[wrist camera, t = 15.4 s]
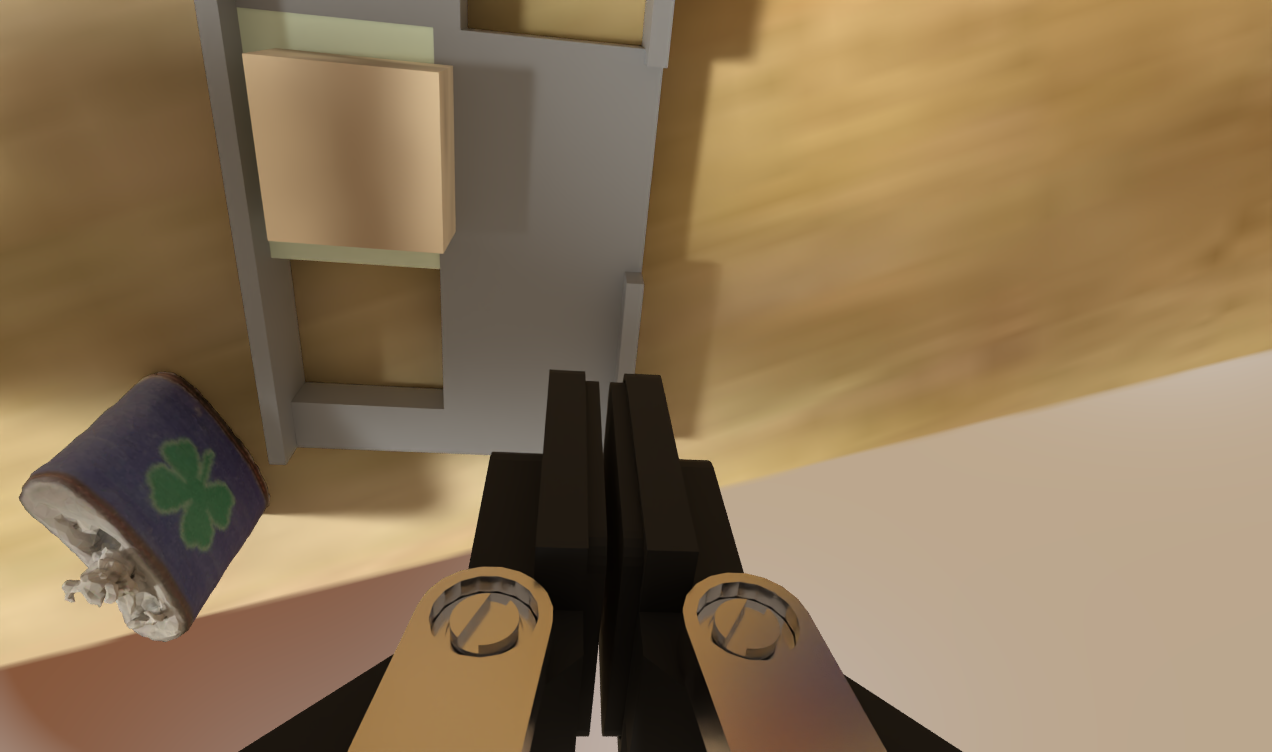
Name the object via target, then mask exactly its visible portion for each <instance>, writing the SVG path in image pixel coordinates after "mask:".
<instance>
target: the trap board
mask: <svg viewBox="0 0 1272 752" xmlns="http://www.w3.org/2000/svg"><path fill="white" fill-rule="evenodd" d="M194 4H195V10H196V16H197V22H198V28H199V35H200V41H201V47H202V53H203V59H204V65H205V72H206V78H207V84H208V90H209V96H210V102H211V109H212V115H213V121H214V127H215V133H216V140H217V146H218V152H219V158H220V164H221V170H222V177H223V183H224V189H225V195H226V201H227V207H228V214H229V220H230V226H231V232H232V238H233V244H234V251H235V257H236V263H237V269H238V275H239V281H240V288H241V294H242V300H243V306H244V312H245V318H246V325H247V331H248V337H249V343H250V349H251V356H252V362H253V368H254V374H255V380H256V386H257V393H258V399H259V405H260V411H261V417H262V423H263V430H264V436H265V442H266V448H267V454H268V460H269V464H276V465H286V464H287V463H288V461H289V459H290V458H291V456H292V455H293V453H294V451H295V450H296V448H297V447H306V448H330V449H354V450H378V451H402V452H427V453H451V454H475V455H491V453H492V452H517V453H541V454H543V445H544V433H545V420H546V407H547V395H548V382H549V370H550V369H552V370H570V371H585V374H586V381H599V388H600V407H601V426H602V445H603V448H604V437H605V426H606V415H607V404H608V393H609V385H610V382H620V383H623V377H624V373H625V374H635V366H636V357H637V348H638V339H639V329H640V320H641V311H642V301H643V292H644V281H643V276H642V264H643V255H644V245H645V236H646V226H647V217H648V207H649V198H650V188H651V179H652V169H653V160H654V150H655V141H656V131H657V121H658V112H659V102H660V93H661V83H662V74H663V68H668V60H669V51H670V41H671V32H672V23H673V14H674V4H675V0H646V4H645V15H644V26H643V37H642V46H635V45H625V44H616V43H606V42H596V41H587V40H577V39H567V38H557V37H548V36H538V35H528V34H519V33H509V32H499V31H489V30H480V29H470V28H468V0H194ZM273 48H279V49H289V50H300V51H310V52H320V53H330V54H340V55H350V56H360V57H370V58H380V59H390V60H401V61H411V62H421V63H431V64H441V65H451V66H453V97H454V157H455V217H456V232H455V234H454V236H453V237H452V239H451V241H450V243H449V245H448V246H447V248H446V250H445V252H444V253H443V254H440V253H426V252H413V251H399V250H386V249H372V248H358V247H345V246H331V245H318V244H304V243H290V242H277V241H268V239H267V232H266V225H265V218H264V210H263V203H262V196H261V189H260V182H259V174H258V167H257V160H256V153H255V145H254V138H253V131H252V124H251V117H250V109H249V102H248V95H247V88H246V81H245V73H244V66H243V59H242V53H247V52H254V51H260V50H267V49H273ZM290 259H295V260H310V261H325V262H340V263H354V264H369V265H384V266H399V267H413V268H428V269H440V285H441V320H442V356H443V389H433V388H413V387H393V386H373V385H354V384H334V383H314V382H305V376H304V368H303V360H302V352H301V344H300V336H299V328H298V321H297V313H296V305H295V297H294V289H293V281H292V273H291V265H290Z"/></svg>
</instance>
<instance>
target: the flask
mask: <svg viewBox="0 0 1272 752" xmlns="http://www.w3.org/2000/svg"><path fill="white" fill-rule="evenodd" d="M156 374H158V375H154V374H150V375H148V376H145V377H144V378H142V379H141V380H139V381H138V383H137V384H136V385H135V386H133V387H132V388H131V389H130V390H129V391H128V392H127V393H126V394H125V395H124V396H123V397H122V398H121V399H120V400H119V401H118V402H117V403H116V404H114V405H113V406H112V407H110V408H109V409H107V410H106V411H105V412H104V413H103V414H102V415H101V416H100V417H99V418H98V419H97V420H96V421H95V422H94V423H93V424H92V425H91V426H90V427H89V428H88V429H87V430H86V431H84V432H83V433H82V434H80V435H79V436H77V437H76V438H75V439H74V440H73V441H72V442H71V443H70V444H69V445H68V446H67V447H66V448H64V449H63V450H62V451H61V452H60V453H58V454H57V455H56V456H55V457H54V458H53V459H52V460H50V461H49V462H48V463H46V464H44V465H43V466H41V467H40V468H38V469H37V470H36V471H34V472H33V473H32V474H31V476H30V478H29V479H28V480H27V481H26V483H25V484H24V485H23V487H22V492H21V494H20V496H19V500H20V502H21V503H22V505H23V506H24V508H25V509H26V510H27V511H28V513H29V514H30V515H31V516H32V517H33V518H35V519H36V520H37V521H39V522H40V523H42V524H43V525H44V526H45V527H46V528H47V529H48V530H49V531H50V532H51V533H52V534H54V535H55V536H57V537H58V538H60V540H61V541H62V542H63V543H64V544H65V545H66V546H67V547H68V548H69V549H70V550H71V551H72V552H74V553H75V554H76V555H77V556H78V557H79V558H80V559H81V561H82V562H83V563H84V564H85V565H86V566H87V567H88V569H87V570H85V571H84V572H83V573H82V574H81V576H80V579H81V580H67V581H66V582H65V583H64V584H63V585H62V589H63V590H64V592H65V600H67V601H69V602H75V600H74V595H73V594H74V593H76V592H81V593H82V594H83V595H84V597H85V598H86V600H87V602H88V603H90V604H95V605H98V606H99V607H101V605H102V603H103V600H104V598H105V600H104V603H110V604H111V603H113V602H115V601H116V603H117V604H118V607H119V610H120V612H122V614H123V618H124V622H125V623H126V625H127V627H128V628H129V629H133V630H134V632H136V633H138V634H139V635H141V636H144V637H148V638H150V639H152V640H156V641H163V642H167V641H169V640H172V639H176V638H178V637H179V636H181V635H182V634H184V633H185V632H186V631H188V630H189V628H190V627H191V625H192V623H193V622H194V620H195V619H196V617H197V615H198V613H199V612H200V610H201V608H202V607H203V605H204V604H205V602H206V601H207V599H208V597H209V596H210V594H211V593H212V591H213V590H214V588H215V587H216V586H217V584H218V582H219V581H220V579H221V577H222V575H223V573H224V572H225V570H226V569H227V567H228V566H229V564H230V562H231V561H232V559H233V558H234V557H235V555H236V554H237V553H238V551H239V550H240V549H241V547H242V546H243V544H244V542H245V541H246V539H247V538H248V537H249V535H250V534H251V532H252V530H253V529H254V527H255V525H256V524H257V522H258V520H259V518H260V517H261V515H262V514H263V513H264V511H265V509H266V508H267V507H268V506H269V502H270V495H269V493H268V488H267V485H266V483H265V482H264V479H263V478H262V476H261V474H260V471H259V468H258V466H257V465H255V464H254V461H253V457H251V455H250V453H249V451H248V450H246V448H245V447H244V446H243V443H242V442H241V441H240V440H239V439H237V438H236V436H235V435H233V432H231V429H230V427H229V426H228V425H227V424H226V423H225V422H224V420H223V419H222V418H221V417H220V416H219V414H218V412H216V411H215V410H214V409H213V408H212V406H211V404H209V403H208V401H207V400H205V399H204V398H203V395H201V393H200V392H199V391H198V390H197V388H194V387H193V386H192V385H190V384H189V383H187V382H186V381H185V380H184V379H182V377H181V376H180V377H178V376H177V375H176V374H175V373H168V372H158V373H156Z"/></svg>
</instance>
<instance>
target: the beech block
mask: <svg viewBox="0 0 1272 752" xmlns="http://www.w3.org/2000/svg"><path fill="white" fill-rule="evenodd" d="M242 59H243V66H244V73H245V81H246V88H247V95H248V102H249V109H250V117H251V124H252V131H253V138H254V145H255V153H256V160H257V167H258V174H259V182H260V189H261V196H262V203H263V210H264V218H265V225H266V232H267V239H268V241H277V242H290V243H304V244H318V245H331V246H345V247H358V248H372V249H386V250H399V251H413V252H426V253H440V254H443V253H444V252H445V250H446V248H447V246H448V245H449V243H450V241H451V239H452V237H453V236H454V234H455V232H456V217H455V157H454V97H453V66H451V65H441V64H431V63H421V62H411V61H401V60H390V59H380V58H370V57H360V56H350V55H340V54H330V53H320V52H310V51H300V50H289V49H279V48H273V49H267V50H260V51H254V52H247V53H242Z"/></svg>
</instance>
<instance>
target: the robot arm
mask: <svg viewBox="0 0 1272 752" xmlns="http://www.w3.org/2000/svg"><path fill="white" fill-rule="evenodd" d="M598 645H599V662H600V692H601V693H600V695H601V725H602V736H617V738H618V752H962V751H960V750H959V749H958V748H956V747H954V746H953V745H951V744H950V743H948V742H947V741H945V740H944V739H942V738H941V737H939V736H938V735H936V734H934V733H933V732H931V731H930V730H928V729H927V728H925V727H924V726H922V725H921V724H919V723H918V722H916V721H914V720H913V719H911V718H910V717H908V716H907V715H905V714H904V713H902V712H900V711H899V710H897V709H896V708H894V707H893V706H891V705H890V704H888V703H887V702H885V701H884V700H882V699H881V698H879V697H877V696H876V695H874V694H873V693H871V692H870V691H868V690H866V689H865V688H864V687H862V686H861V685H859V684H858V683H856V682H854V681H853V680H851V679H850V678H848V677H847V676H845V675H844V674H843V673H842V671H841V670H840V668H839V666H838V664H837V662H836V661H835V659H834V657H833V655H832V654H831V652H830V650H829V648H828V646H827V645H826V643H825V641H824V639H823V638H822V636H821V634H820V632H819V630H818V629H817V627H816V625H815V623H814V622H813V620H812V618H811V616H810V615H809V613H808V611H807V610H806V609H805V608H804V606H803V605H802V604H801V603H800V601H799V600H798V599H797V598H796V597H795V596H794V595H792V594H791V593H790V592H789V591H787V590H786V589H785V588H783V587H782V586H780V585H778V584H776V583H774V582H772V581H770V580H768V579H765V578H762V577H758V576H754V575H750V574H746V573H744V572H743V569H742V565H741V562H740V558H739V555H738V551H737V548H736V544H735V541H734V537H733V534H732V530H731V527H730V523H729V520H728V516H727V513H726V509H725V506H724V503H723V499H722V495H721V492H720V488H719V485H718V481H717V478H716V474H715V471H714V468H713V465H712V463H711V462H710V461H708V460H684V459H679V457H678V453H677V448H676V444H675V439H674V434H673V430H672V425H671V421H670V416H669V411H668V407H667V402H666V397H665V393H664V388H663V384H662V379H661V376H660V375H644V374H625V373H624V377H623V383H620V382H610V385H609V393H608V404H607V415H606V426H605V437H604V448H603V445H602V426H601V407H600V388H599V381H586V374H585V371H570V370H552V369H550V370H549V382H548V395H547V407H546V420H545V433H544V445H543V454H541V453H517V452H492V453H491V456H490V460H489V465H488V471H487V476H486V481H485V486H484V491H483V496H482V502H481V507H480V512H479V517H478V522H477V527H476V532H475V538H474V543H473V548H472V553H471V558H470V563H469V569H467V570H462V571H459V572H457V573H455V574H452V575H450V576H448V577H446V578H444V579H442V580H441V581H439V582H438V583H437V584H435V585H434V586H433V587H432V588H430V589H429V590H428V591H427V592H426V594H425V595H424V596H423V598H422V599H421V601H420V602H419V603H418V605H417V607H416V609H415V611H414V613H413V615H412V617H411V619H410V622H409V624H408V626H407V628H406V630H405V632H404V634H403V636H402V638H401V641H400V642H399V645H398V647H397V649H396V651H395V653H394V654H393V655H392V656H390V657H388V658H387V659H385V660H384V661H382V662H380V663H379V664H377V665H376V666H374V667H372V668H371V669H369V670H368V671H366V672H364V673H363V674H361V675H360V676H358V677H357V678H355V679H354V680H352V681H350V682H349V683H347V684H345V685H344V686H342V687H341V688H339V689H337V690H336V691H335V692H333V693H331V694H330V695H328V696H326V697H325V698H323V699H322V700H320V701H318V702H317V703H315V704H314V705H312V706H310V707H309V708H307V709H306V710H304V711H302V712H301V713H299V714H298V715H296V716H294V717H293V718H291V719H290V720H288V721H286V722H285V723H284V724H282V725H280V726H279V727H277V728H275V729H274V730H272V731H271V732H269V733H267V734H266V735H264V736H263V737H261V738H260V739H258V740H256V741H255V742H253V743H251V744H250V745H249V746H247V747H245V748H244V749H242V750H240V751H239V752H575V745H576V736H589V732H590V722H591V713H592V704H593V694H594V684H595V673H596V664H597V654H598Z"/></svg>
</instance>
